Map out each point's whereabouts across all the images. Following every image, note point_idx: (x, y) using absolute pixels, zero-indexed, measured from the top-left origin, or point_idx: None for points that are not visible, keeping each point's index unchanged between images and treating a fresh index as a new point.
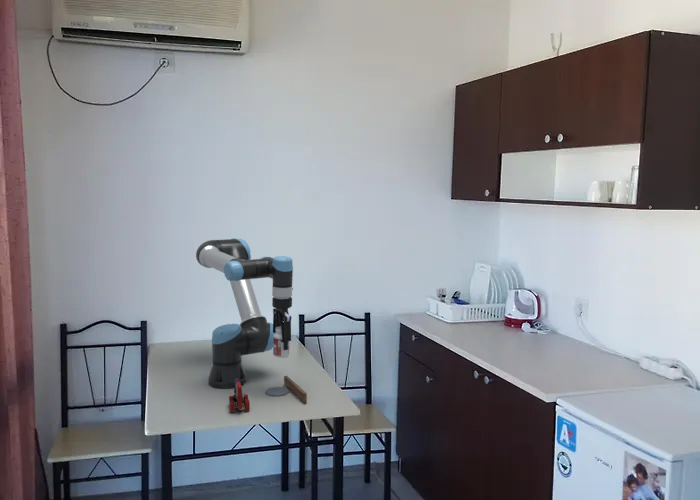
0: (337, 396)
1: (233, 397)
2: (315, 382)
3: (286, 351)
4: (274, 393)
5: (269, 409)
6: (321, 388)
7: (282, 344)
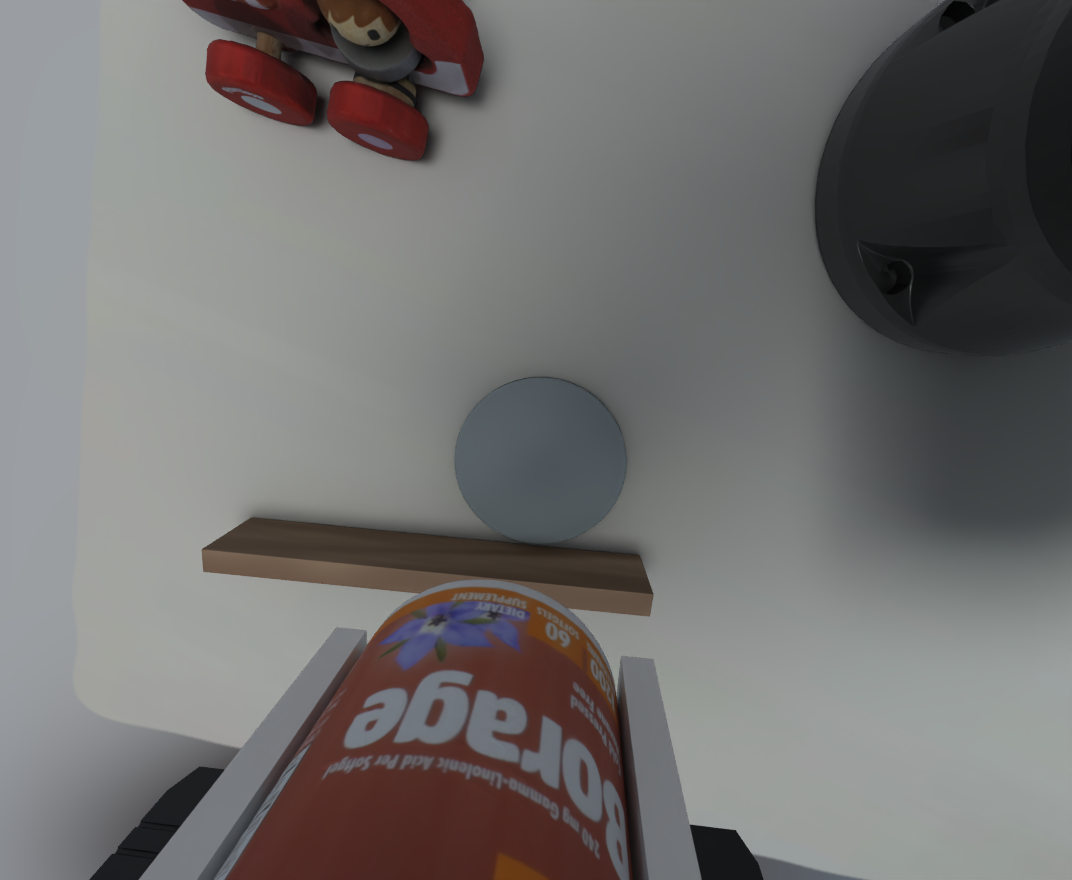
0: None
1: None
2: None
3: None
4: (494, 422)
5: (244, 273)
6: None
7: (155, 876)
